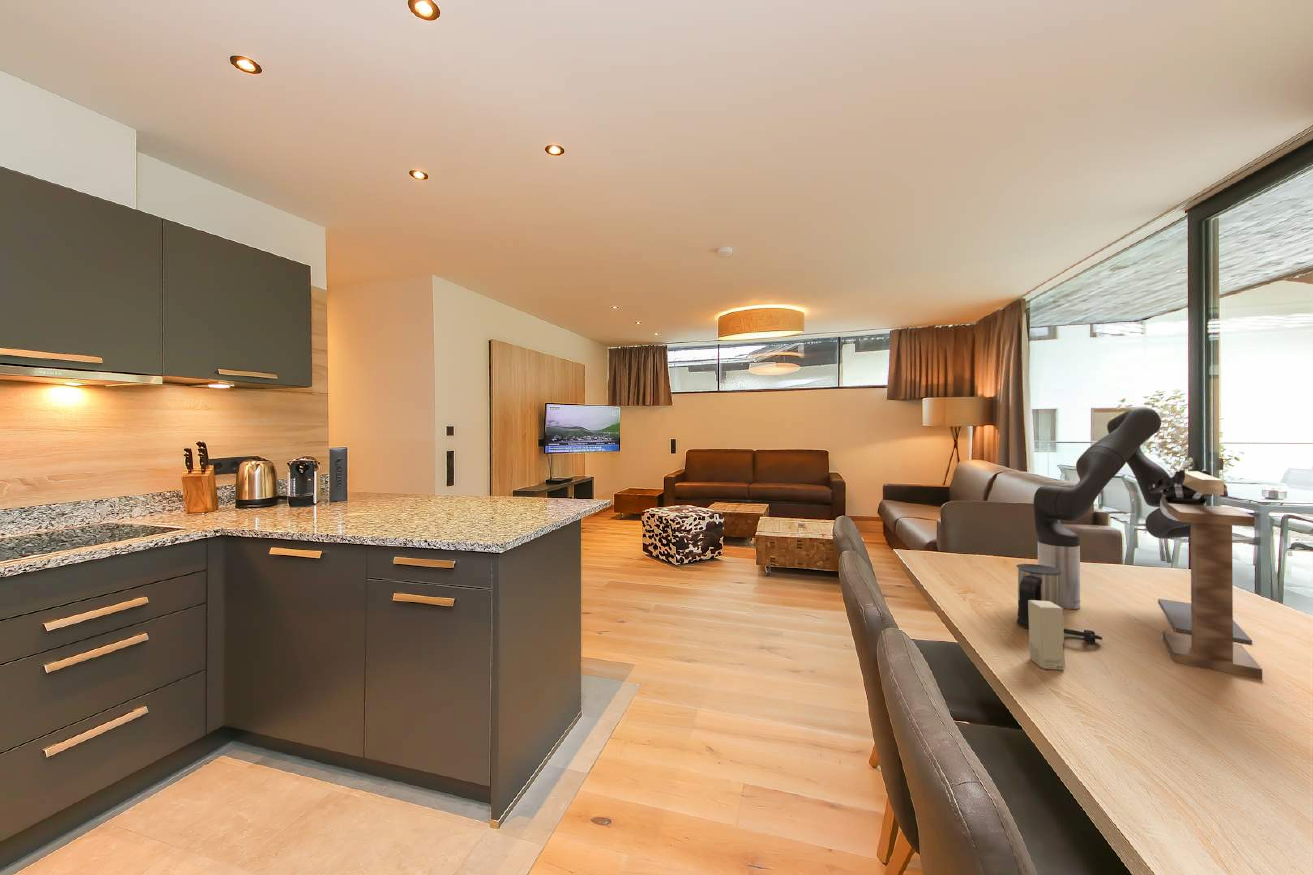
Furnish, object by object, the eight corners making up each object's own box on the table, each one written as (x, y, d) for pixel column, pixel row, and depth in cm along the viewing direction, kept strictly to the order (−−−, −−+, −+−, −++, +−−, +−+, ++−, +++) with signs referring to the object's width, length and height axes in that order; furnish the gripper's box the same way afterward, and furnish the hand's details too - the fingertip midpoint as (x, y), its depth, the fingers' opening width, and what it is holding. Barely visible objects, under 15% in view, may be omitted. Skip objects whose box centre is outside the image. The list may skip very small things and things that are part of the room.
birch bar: (1201, 493, 101) (1201, 479, 101) (1179, 483, 119) (1179, 471, 119) (1223, 494, 99) (1223, 480, 99) (1197, 483, 118) (1197, 471, 118)
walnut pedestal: (1174, 662, 103) (1173, 511, 102) (1162, 638, 114) (1161, 502, 114) (1263, 680, 95) (1262, 517, 95) (1240, 652, 107) (1239, 507, 106)
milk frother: (1016, 616, 129) (1016, 561, 129) (1096, 630, 120) (1095, 570, 120) (1016, 635, 118) (1016, 574, 118) (1104, 651, 108) (1104, 585, 108)
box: (1066, 671, 100) (1065, 608, 100) (1041, 669, 101) (1041, 607, 101) (1050, 659, 105) (1050, 600, 105) (1027, 657, 106) (1027, 599, 106)
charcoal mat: (1175, 631, 118) (1175, 627, 118) (1158, 601, 138) (1158, 598, 138) (1252, 643, 111) (1252, 640, 111) (1221, 610, 131) (1221, 607, 131)
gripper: (1142, 487, 131) (1150, 458, 120) (1221, 490, 122) (1237, 459, 111) (1144, 513, 129) (1152, 486, 117) (1225, 518, 120) (1242, 489, 108)
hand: (1194, 473), depth 114 cm, fingers closed on birch bar, 3 cm apart
